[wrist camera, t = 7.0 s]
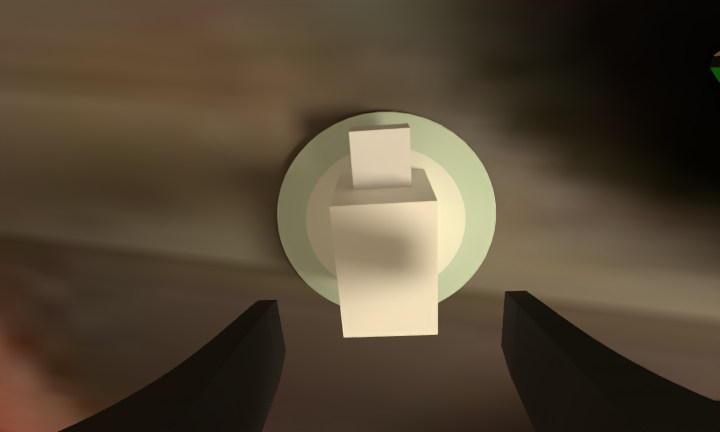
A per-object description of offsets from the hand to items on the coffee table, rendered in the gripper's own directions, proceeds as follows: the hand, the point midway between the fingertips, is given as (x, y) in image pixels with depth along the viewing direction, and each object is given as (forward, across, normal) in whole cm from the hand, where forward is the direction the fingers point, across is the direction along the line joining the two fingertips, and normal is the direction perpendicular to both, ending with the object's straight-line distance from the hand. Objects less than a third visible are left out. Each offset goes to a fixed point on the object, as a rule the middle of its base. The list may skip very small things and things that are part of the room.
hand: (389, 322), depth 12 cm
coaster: (+8, 0, 0) cm, 8 cm away
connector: (+8, 0, -1) cm, 8 cm away
